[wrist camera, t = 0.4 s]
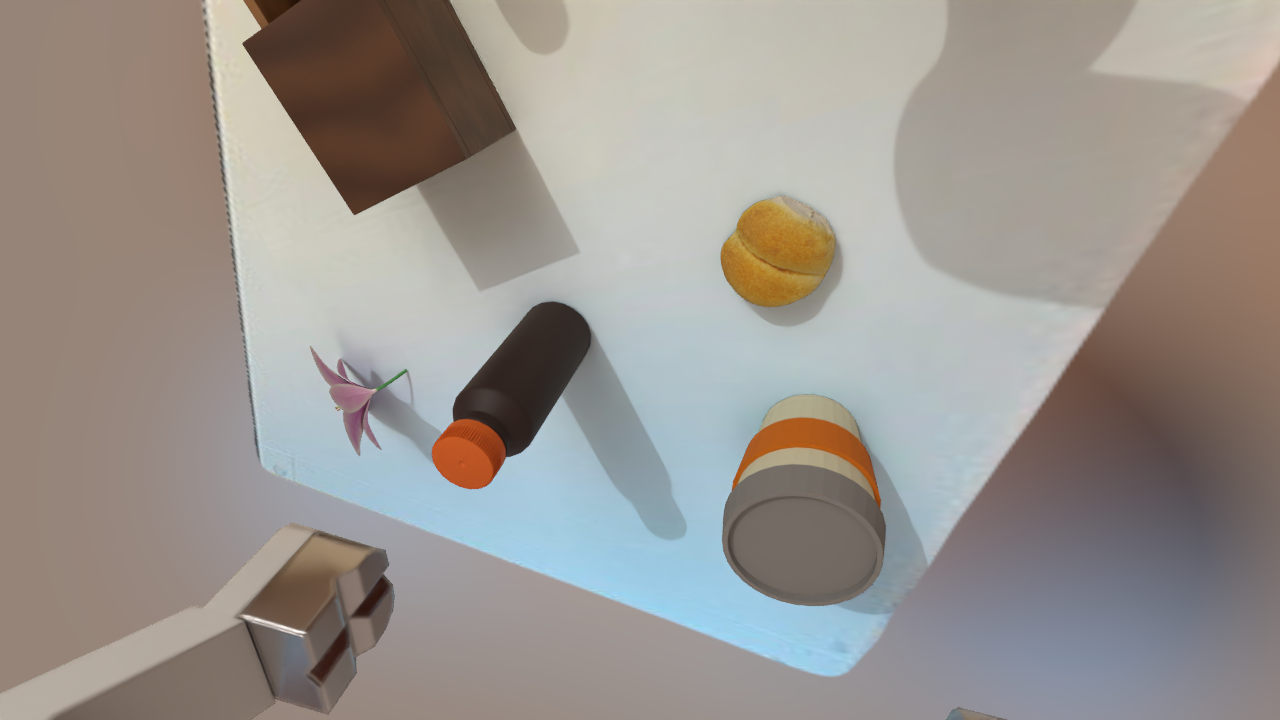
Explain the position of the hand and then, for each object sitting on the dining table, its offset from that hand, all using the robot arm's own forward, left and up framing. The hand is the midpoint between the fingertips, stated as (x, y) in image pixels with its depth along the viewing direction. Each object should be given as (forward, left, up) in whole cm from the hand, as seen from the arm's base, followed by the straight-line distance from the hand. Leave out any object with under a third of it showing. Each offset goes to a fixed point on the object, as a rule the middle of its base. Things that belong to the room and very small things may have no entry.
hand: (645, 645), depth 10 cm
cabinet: (+4, -31, -48) cm, 57 cm away
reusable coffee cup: (+31, +6, -48) cm, 58 cm away
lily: (+35, -40, -48) cm, 72 cm away
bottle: (+25, -19, -48) cm, 57 cm away
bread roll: (+13, 0, -48) cm, 50 cm away
